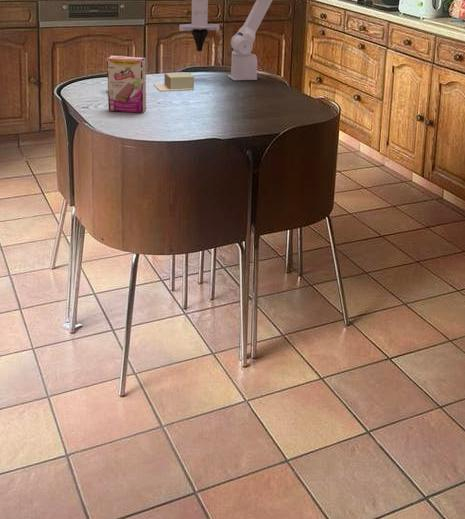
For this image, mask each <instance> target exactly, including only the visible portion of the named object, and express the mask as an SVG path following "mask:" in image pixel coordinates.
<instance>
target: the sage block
mask: <svg viewBox="0 0 465 519" xmlns="http://www.w3.org/2000/svg"><path fill="white" fill-rule="evenodd" d="M163 81H164V84H165V86H166V87H167V88H168V89H185V88H193V89H194V88H195V76H194V75H192V73H191V72H168V73H167V72H166V73H165V72H164V80H163Z"/></svg>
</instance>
